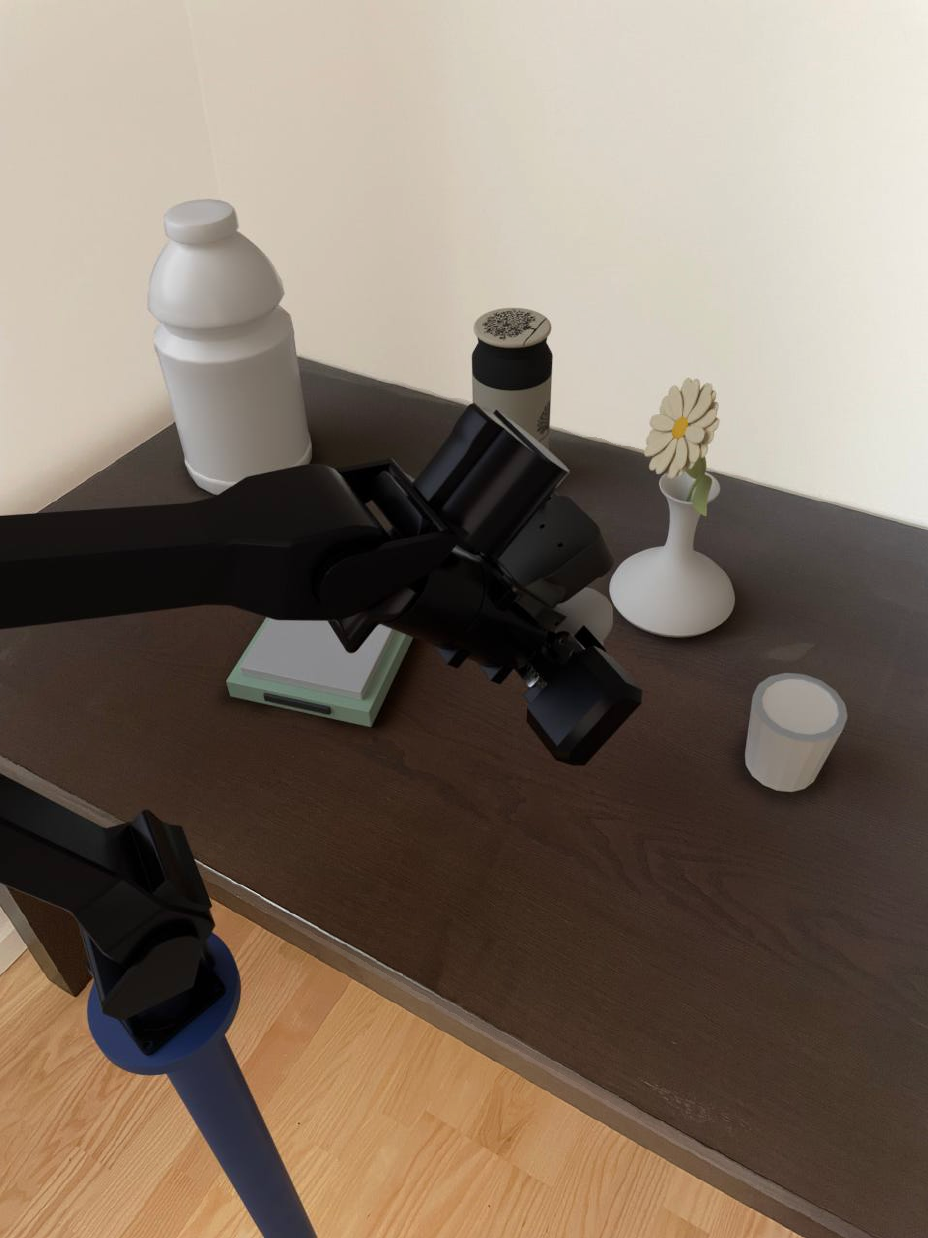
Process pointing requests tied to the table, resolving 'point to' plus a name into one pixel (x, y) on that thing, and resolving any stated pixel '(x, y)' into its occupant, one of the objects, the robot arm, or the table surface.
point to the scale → (318, 670)
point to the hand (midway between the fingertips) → (591, 663)
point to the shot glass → (792, 730)
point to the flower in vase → (678, 526)
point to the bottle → (226, 349)
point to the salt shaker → (587, 614)
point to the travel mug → (514, 368)
